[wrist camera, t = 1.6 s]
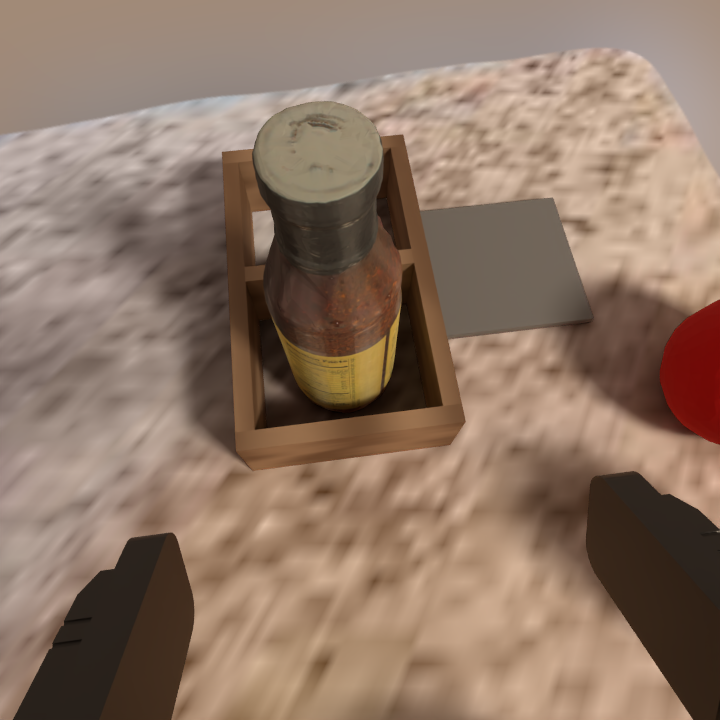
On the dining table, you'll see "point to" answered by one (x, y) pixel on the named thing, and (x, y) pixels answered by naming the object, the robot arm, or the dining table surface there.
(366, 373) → the sauce bottle
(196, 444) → the dining table surface
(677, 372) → the fruit
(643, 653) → the dining table surface
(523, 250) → the coaster
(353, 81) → the dining table surface
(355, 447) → the caddy
